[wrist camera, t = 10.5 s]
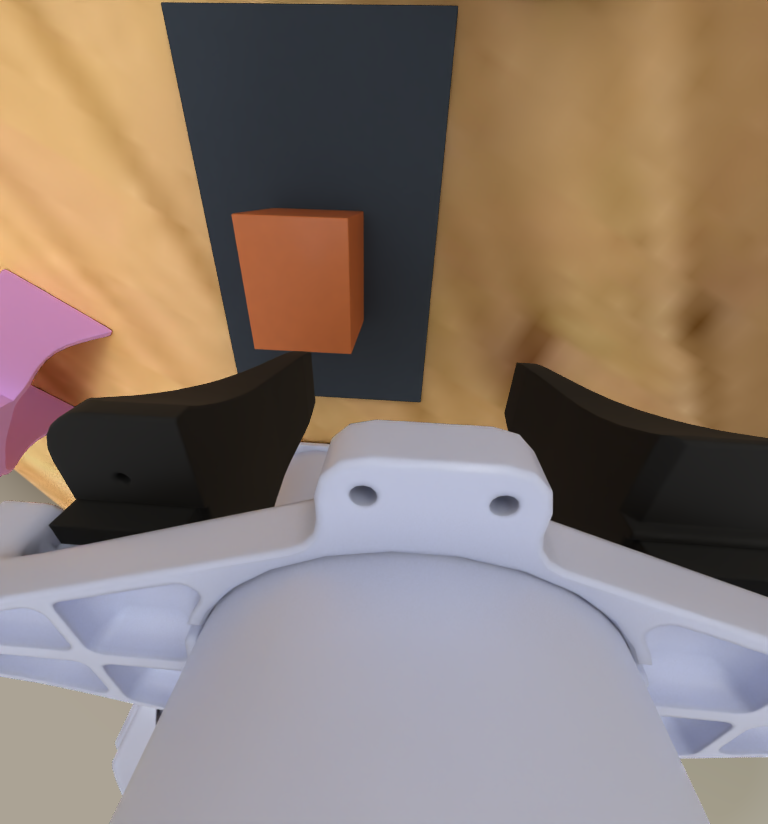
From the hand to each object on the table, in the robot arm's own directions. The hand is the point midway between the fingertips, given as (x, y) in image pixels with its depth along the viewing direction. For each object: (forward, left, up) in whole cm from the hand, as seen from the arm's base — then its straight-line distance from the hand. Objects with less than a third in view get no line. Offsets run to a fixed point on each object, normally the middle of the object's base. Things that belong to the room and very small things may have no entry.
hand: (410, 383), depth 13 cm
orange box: (+2, +5, -9) cm, 11 cm away
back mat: (+3, +5, -9) cm, 11 cm away
